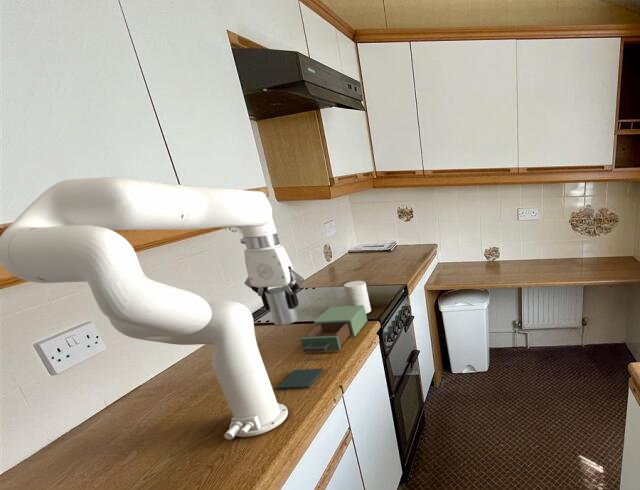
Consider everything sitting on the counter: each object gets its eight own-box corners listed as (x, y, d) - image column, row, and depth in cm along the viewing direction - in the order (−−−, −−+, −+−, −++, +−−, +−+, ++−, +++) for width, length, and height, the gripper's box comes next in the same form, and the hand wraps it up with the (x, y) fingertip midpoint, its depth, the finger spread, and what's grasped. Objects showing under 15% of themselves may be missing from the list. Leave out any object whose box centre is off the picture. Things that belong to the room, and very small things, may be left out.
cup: (346, 314, 165) (339, 286, 160) (357, 307, 173) (351, 280, 167) (364, 315, 164) (357, 287, 158) (374, 308, 171) (369, 281, 166)
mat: (308, 387, 115) (308, 386, 114) (277, 389, 115) (276, 387, 114) (323, 370, 124) (322, 368, 123) (294, 371, 124) (293, 369, 123)
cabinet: (354, 336, 145) (350, 319, 142) (318, 338, 145) (313, 321, 142) (367, 320, 158) (364, 305, 156) (334, 322, 158) (330, 306, 156)
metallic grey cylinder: (291, 324, 110) (282, 292, 107) (270, 325, 110) (259, 294, 107) (302, 316, 116) (293, 286, 112) (281, 317, 116) (271, 287, 112)
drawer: (334, 356, 130) (330, 343, 127) (297, 358, 130) (293, 345, 128) (353, 333, 146) (350, 320, 144) (321, 334, 146) (317, 322, 144)
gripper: (219, 247, 101) (243, 314, 108) (288, 243, 101) (307, 311, 108) (238, 241, 108) (258, 304, 115) (302, 237, 107) (319, 301, 115)
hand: (282, 307), depth 111 cm, fingers closed on metallic grey cylinder, 6 cm apart
